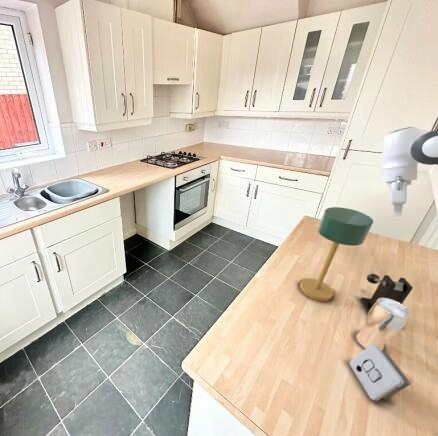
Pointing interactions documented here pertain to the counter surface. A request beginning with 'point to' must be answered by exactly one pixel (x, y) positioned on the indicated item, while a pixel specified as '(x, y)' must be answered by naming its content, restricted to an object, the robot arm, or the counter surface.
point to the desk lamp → (336, 244)
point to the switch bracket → (388, 292)
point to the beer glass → (383, 322)
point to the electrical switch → (378, 373)
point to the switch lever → (375, 279)
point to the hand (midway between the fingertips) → (397, 213)
